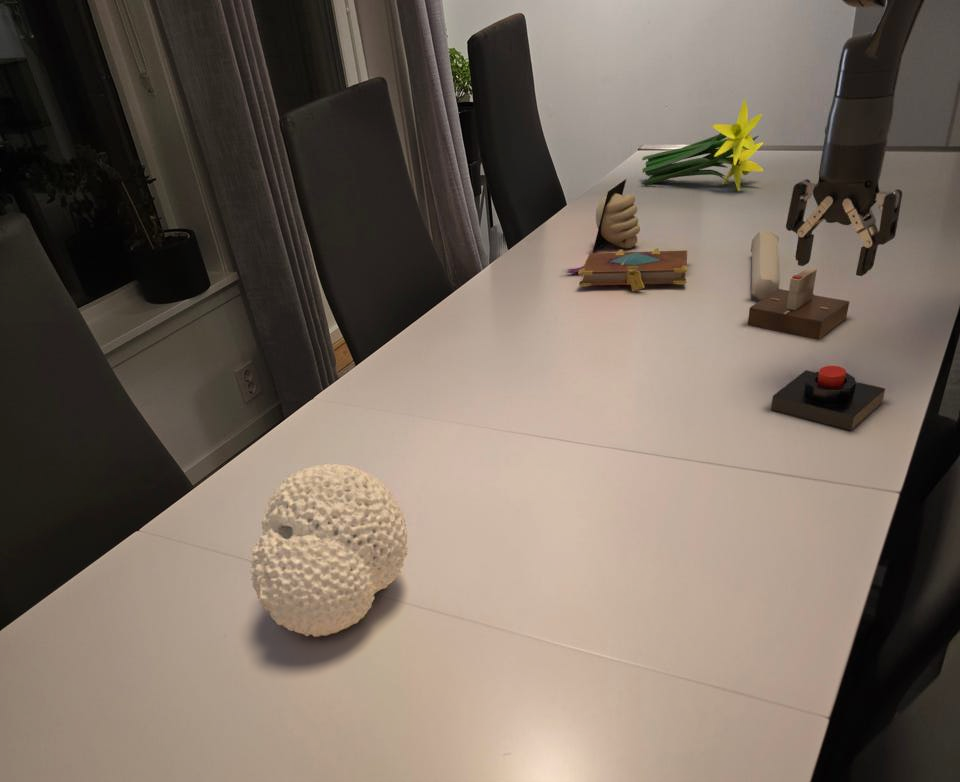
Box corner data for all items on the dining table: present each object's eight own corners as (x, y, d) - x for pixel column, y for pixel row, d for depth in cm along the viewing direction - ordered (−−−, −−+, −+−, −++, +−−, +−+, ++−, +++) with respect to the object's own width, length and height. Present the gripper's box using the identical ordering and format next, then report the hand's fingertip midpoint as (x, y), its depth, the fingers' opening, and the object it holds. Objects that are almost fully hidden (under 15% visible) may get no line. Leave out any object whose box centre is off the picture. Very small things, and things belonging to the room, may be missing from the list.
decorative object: (640, 250, 186) (623, 265, 180) (599, 234, 188) (580, 248, 182) (658, 190, 176) (640, 204, 170) (614, 174, 179) (595, 187, 172)
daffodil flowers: (670, 175, 226) (794, 142, 202) (651, 219, 223) (774, 191, 199) (641, 123, 214) (769, 82, 190) (620, 169, 211) (748, 133, 187)
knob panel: (846, 318, 143) (850, 300, 141) (818, 339, 138) (821, 320, 136) (776, 305, 150) (778, 287, 148) (747, 324, 145) (749, 306, 143)
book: (568, 271, 177) (568, 245, 174) (688, 267, 171) (690, 241, 168) (556, 294, 164) (556, 268, 161) (685, 292, 159) (687, 264, 156)
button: (848, 380, 118) (851, 368, 117) (836, 390, 116) (839, 378, 115) (824, 375, 120) (826, 363, 119) (812, 384, 118) (814, 372, 117)
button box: (882, 402, 120) (888, 376, 117) (850, 431, 115) (856, 404, 112) (803, 383, 127) (807, 358, 124) (770, 409, 122) (774, 383, 119)
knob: (803, 297, 144) (808, 265, 140) (812, 299, 143) (817, 267, 139) (786, 309, 141) (790, 277, 137) (794, 310, 140) (799, 278, 136)
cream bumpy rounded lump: (285, 481, 102) (295, 414, 87) (418, 533, 106) (450, 478, 90) (224, 627, 96) (223, 583, 81) (368, 678, 99) (393, 645, 84)
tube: (786, 280, 148) (783, 234, 166) (758, 271, 148) (758, 226, 166) (772, 309, 152) (771, 261, 169) (745, 300, 152) (746, 253, 169)
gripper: (926, 133, 103) (894, 269, 114) (818, 125, 111) (798, 253, 122) (899, 147, 99) (868, 286, 110) (789, 137, 107) (771, 268, 118)
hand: (831, 269), depth 116 cm, fingers open, 8 cm apart
